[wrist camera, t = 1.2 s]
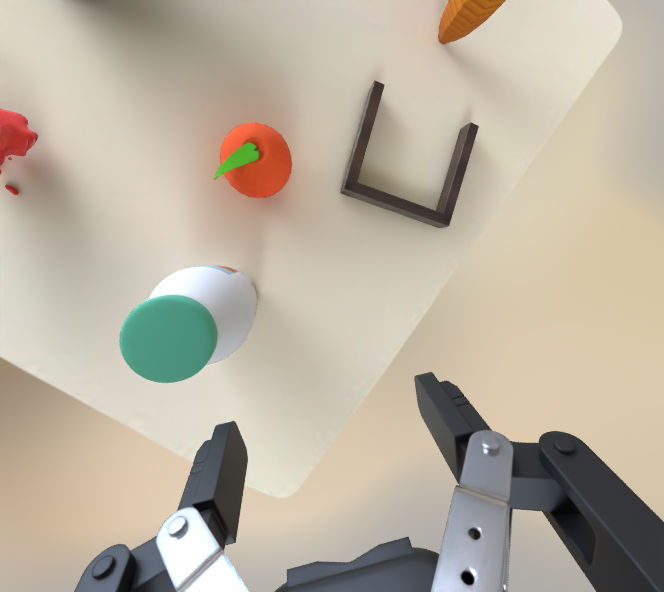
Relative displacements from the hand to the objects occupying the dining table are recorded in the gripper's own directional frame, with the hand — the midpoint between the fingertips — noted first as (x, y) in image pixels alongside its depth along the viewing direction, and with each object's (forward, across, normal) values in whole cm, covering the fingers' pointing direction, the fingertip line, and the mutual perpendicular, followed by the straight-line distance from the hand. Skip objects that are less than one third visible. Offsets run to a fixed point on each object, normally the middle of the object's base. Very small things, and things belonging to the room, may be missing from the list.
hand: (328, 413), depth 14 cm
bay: (+29, -15, -9) cm, 34 cm away
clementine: (+28, +3, -11) cm, 30 cm away
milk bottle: (+24, +10, +2) cm, 26 cm away
